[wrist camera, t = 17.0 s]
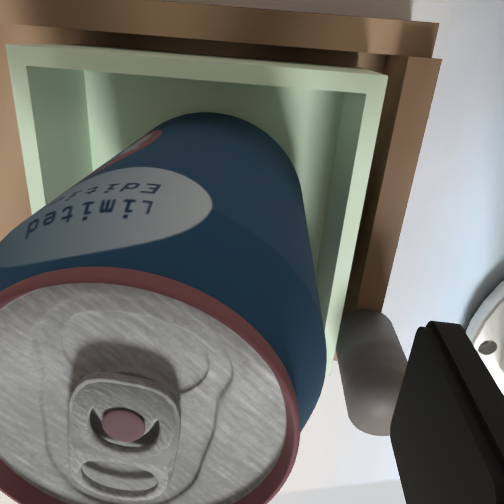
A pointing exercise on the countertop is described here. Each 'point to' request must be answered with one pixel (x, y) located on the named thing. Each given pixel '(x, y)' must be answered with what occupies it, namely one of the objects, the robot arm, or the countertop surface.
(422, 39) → the bay
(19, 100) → the crate
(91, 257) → the soda can
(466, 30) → the countertop surface
